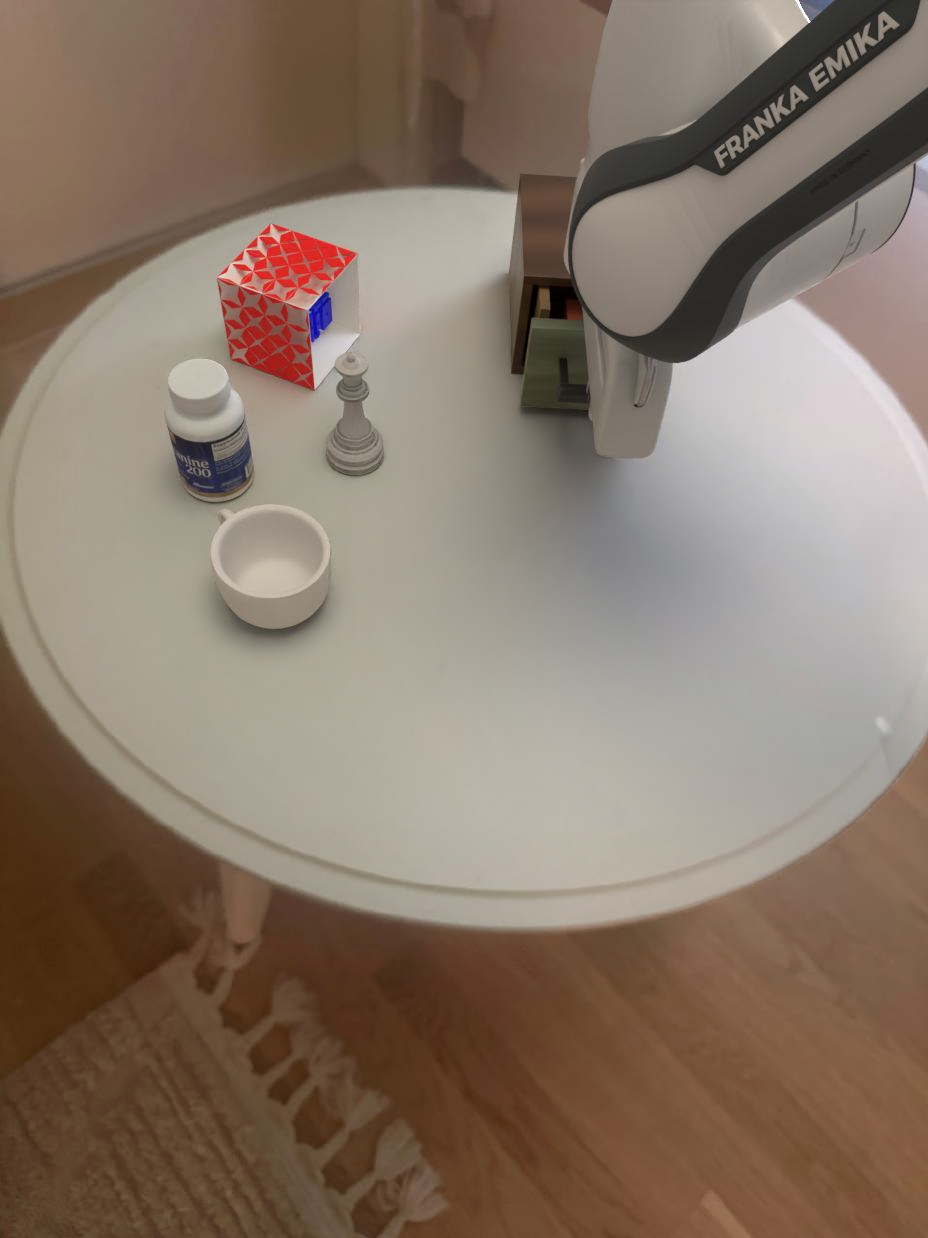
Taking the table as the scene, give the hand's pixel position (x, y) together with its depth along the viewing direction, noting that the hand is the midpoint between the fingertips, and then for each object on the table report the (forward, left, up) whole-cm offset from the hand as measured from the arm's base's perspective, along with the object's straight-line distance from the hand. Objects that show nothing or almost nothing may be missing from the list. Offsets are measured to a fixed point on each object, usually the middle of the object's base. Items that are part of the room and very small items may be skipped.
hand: (598, 408), depth 71 cm
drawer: (0, -10, -5) cm, 11 cm away
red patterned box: (+24, -12, -7) cm, 27 cm away
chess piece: (+18, 0, -7) cm, 19 cm away
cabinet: (0, -17, -6) cm, 18 cm away
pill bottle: (+28, +3, -7) cm, 29 cm away
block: (0, -10, -4) cm, 11 cm away
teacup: (+23, +13, -7) cm, 27 cm away
